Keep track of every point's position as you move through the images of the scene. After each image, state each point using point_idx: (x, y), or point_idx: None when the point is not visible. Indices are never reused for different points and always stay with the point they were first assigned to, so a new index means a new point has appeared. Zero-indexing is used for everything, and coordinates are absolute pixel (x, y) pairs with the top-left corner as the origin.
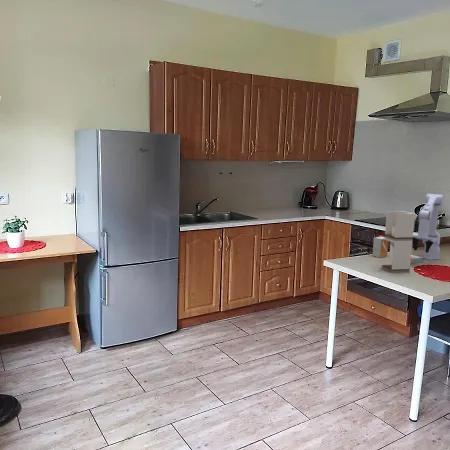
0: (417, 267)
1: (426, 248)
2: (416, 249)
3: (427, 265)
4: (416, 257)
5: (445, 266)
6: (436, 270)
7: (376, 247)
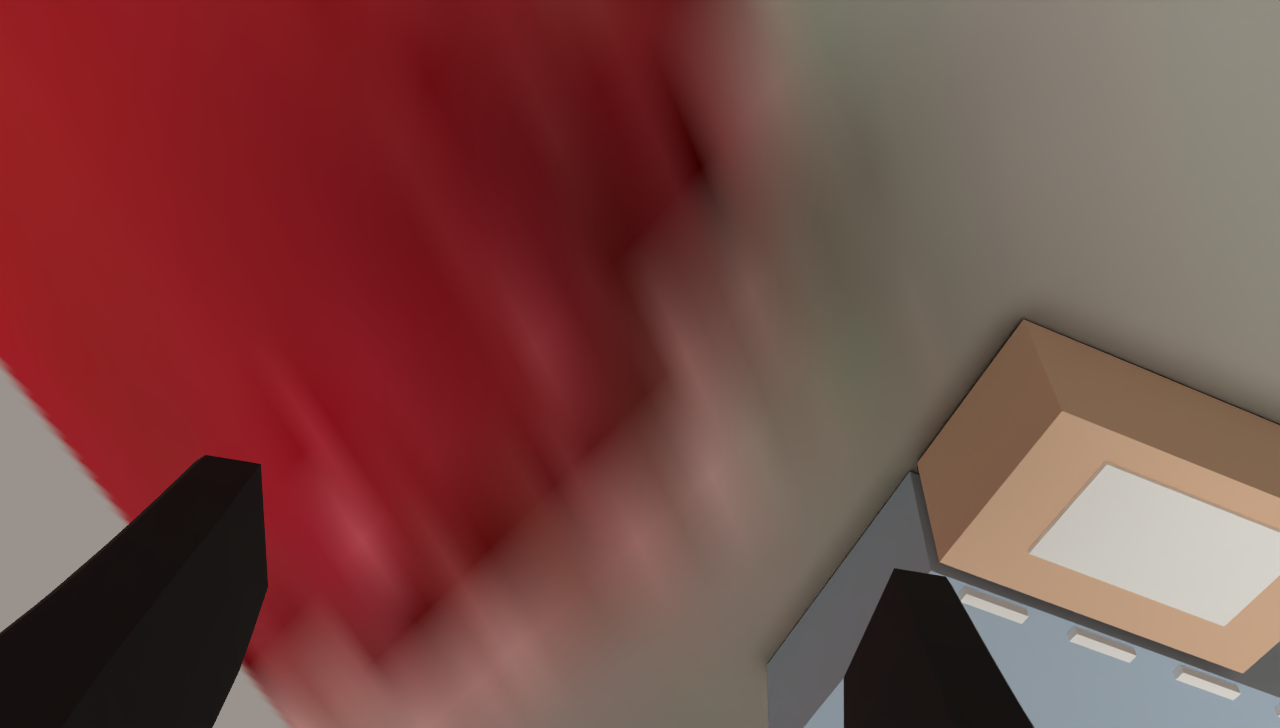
0: (628, 26)
1: (78, 615)
2: (859, 686)
3: (541, 483)
4: None
5: None
6: (68, 126)
7: None
